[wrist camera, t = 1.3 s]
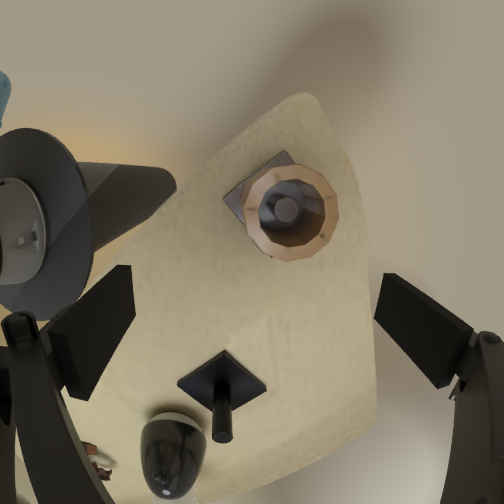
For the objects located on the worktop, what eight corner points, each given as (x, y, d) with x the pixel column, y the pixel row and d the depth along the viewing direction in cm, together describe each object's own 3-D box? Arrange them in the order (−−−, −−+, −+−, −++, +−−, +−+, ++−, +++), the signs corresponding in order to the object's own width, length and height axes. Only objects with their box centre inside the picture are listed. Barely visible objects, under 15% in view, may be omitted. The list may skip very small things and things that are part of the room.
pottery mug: (108, 446, 41) (111, 481, 35) (112, 449, 47) (115, 480, 41) (55, 437, 36) (56, 472, 30) (64, 442, 42) (66, 473, 36)
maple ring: (224, 199, 29) (224, 206, 22) (284, 152, 28) (301, 145, 22) (271, 255, 31) (283, 278, 25) (327, 210, 30) (354, 221, 24)
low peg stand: (222, 198, 30) (221, 203, 25) (282, 150, 29) (294, 145, 24) (270, 255, 32) (278, 271, 27) (327, 210, 31) (346, 217, 26)
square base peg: (177, 381, 36) (167, 433, 26) (224, 349, 35) (225, 403, 26) (220, 413, 38) (220, 463, 29) (266, 386, 37) (276, 438, 28)
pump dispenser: (201, 401, 38) (196, 485, 23) (211, 440, 40) (211, 512, 26) (138, 400, 37) (116, 477, 22) (155, 438, 40) (142, 507, 25)
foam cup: (175, 451, 41) (169, 507, 28) (211, 469, 43) (211, 521, 31) (147, 463, 42) (138, 512, 30) (181, 480, 44) (178, 526, 32)
